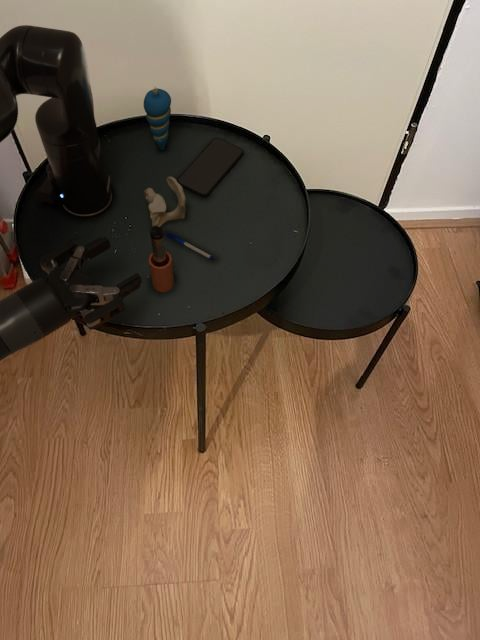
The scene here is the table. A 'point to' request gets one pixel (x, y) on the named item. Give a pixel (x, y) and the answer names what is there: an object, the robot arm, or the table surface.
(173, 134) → the table surface
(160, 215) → the bone
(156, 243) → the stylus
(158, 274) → the pen cup
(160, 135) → the ornament
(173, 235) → the ballpoint pen
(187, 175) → the smartphone
